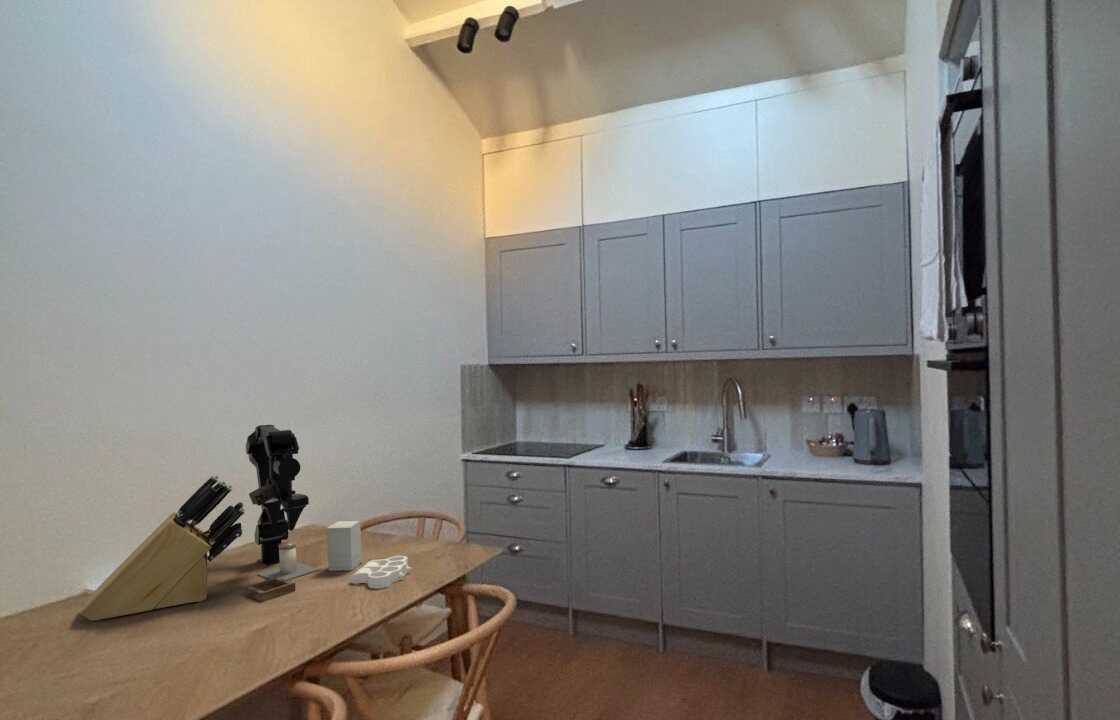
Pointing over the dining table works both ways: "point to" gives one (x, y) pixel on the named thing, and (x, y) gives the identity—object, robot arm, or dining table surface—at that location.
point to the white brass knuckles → (382, 572)
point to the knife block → (170, 559)
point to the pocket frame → (279, 583)
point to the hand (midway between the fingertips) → (282, 528)
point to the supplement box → (344, 545)
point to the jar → (287, 557)
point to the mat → (300, 571)
